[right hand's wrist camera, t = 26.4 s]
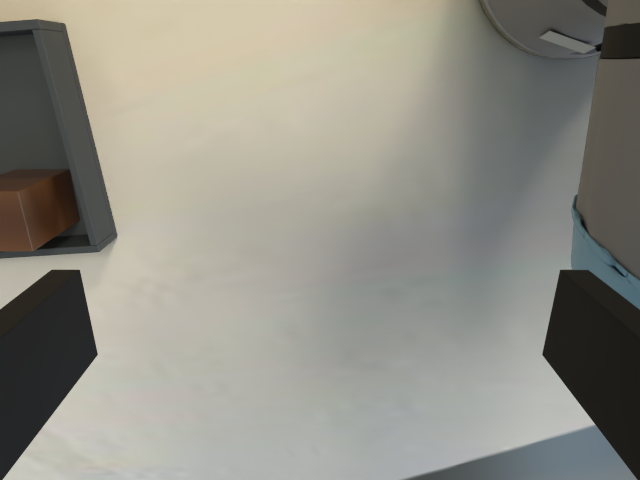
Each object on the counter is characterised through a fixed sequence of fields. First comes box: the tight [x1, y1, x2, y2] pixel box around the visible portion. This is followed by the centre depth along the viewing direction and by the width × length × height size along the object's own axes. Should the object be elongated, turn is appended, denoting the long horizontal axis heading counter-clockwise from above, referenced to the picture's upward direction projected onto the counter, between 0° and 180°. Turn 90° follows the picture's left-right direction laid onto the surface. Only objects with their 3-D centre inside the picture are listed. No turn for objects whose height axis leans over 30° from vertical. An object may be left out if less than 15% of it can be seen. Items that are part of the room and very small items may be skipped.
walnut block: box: [0, 169, 80, 251], centre depth 35 cm, size 4×4×7 cm
